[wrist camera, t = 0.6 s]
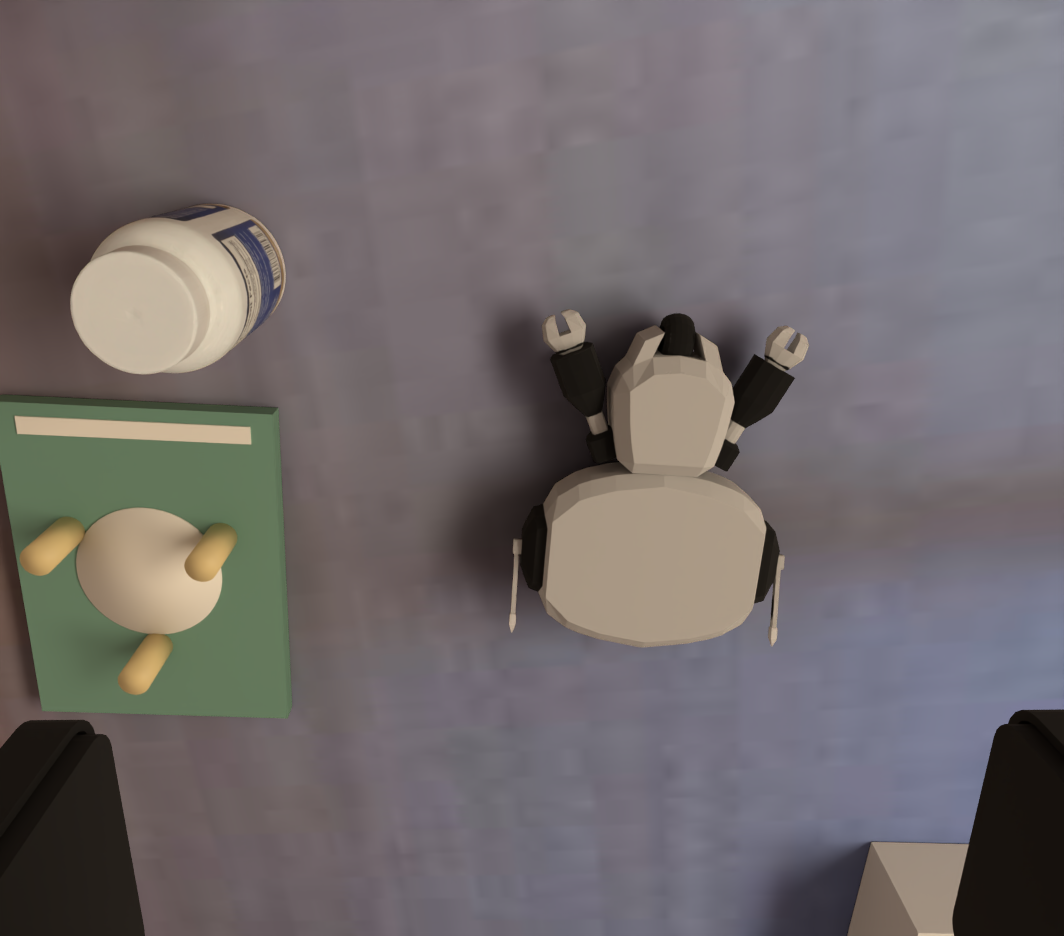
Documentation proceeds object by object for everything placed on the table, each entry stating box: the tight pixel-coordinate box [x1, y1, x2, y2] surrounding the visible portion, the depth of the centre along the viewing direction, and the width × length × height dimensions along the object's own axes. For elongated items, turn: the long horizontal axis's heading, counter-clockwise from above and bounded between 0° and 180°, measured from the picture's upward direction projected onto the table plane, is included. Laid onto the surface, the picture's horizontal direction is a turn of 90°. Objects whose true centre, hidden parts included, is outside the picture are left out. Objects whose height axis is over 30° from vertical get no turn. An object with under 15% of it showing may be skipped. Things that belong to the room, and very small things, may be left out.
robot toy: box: [509, 309, 809, 647], centre depth 39 cm, size 12×4×15 cm
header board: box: [0, 395, 292, 718], centre depth 40 cm, size 16×12×4 cm
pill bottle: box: [70, 204, 286, 374], centre depth 32 cm, size 5×5×10 cm
